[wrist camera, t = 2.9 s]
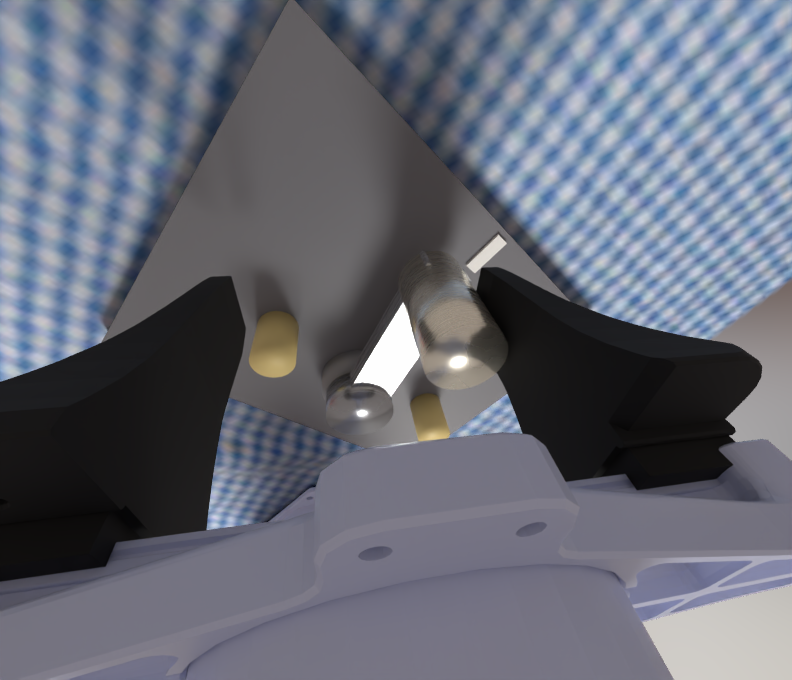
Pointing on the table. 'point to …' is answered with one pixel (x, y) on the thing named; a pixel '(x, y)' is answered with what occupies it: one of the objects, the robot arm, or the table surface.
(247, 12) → the table surface
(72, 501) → the robot arm
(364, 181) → the base
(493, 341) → the crank
